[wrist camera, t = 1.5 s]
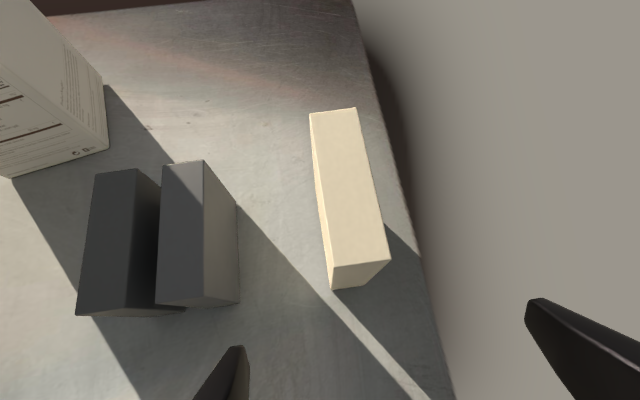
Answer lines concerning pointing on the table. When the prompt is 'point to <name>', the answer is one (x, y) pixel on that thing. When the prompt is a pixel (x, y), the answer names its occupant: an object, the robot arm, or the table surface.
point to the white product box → (45, 95)
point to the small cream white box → (347, 200)
